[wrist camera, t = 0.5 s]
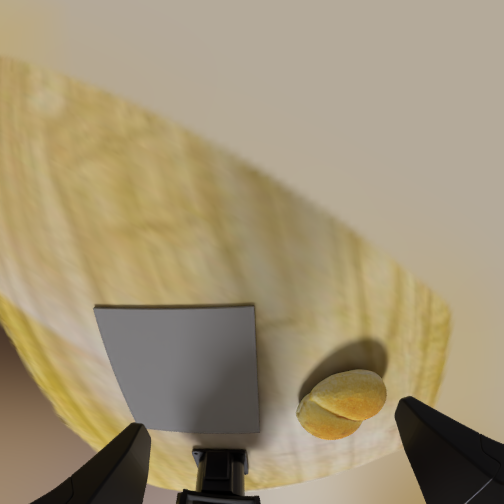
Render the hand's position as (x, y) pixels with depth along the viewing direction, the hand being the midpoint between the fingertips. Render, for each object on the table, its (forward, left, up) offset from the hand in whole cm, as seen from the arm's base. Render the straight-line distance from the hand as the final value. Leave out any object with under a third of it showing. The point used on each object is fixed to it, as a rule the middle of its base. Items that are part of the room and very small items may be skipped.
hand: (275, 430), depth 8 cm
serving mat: (-10, +7, -14) cm, 19 cm away
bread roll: (-10, -8, -14) cm, 19 cm away
